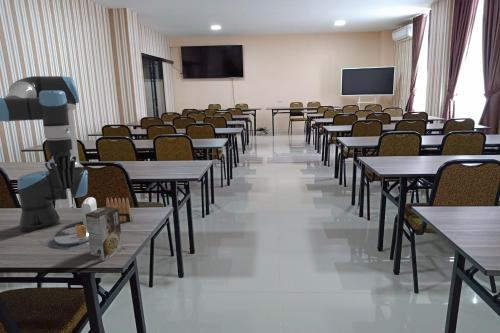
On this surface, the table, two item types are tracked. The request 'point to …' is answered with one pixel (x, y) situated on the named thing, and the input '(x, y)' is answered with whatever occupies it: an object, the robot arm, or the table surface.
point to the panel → (71, 248)
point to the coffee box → (104, 232)
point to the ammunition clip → (121, 208)
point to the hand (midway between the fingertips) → (67, 207)
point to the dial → (72, 236)
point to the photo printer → (88, 208)
